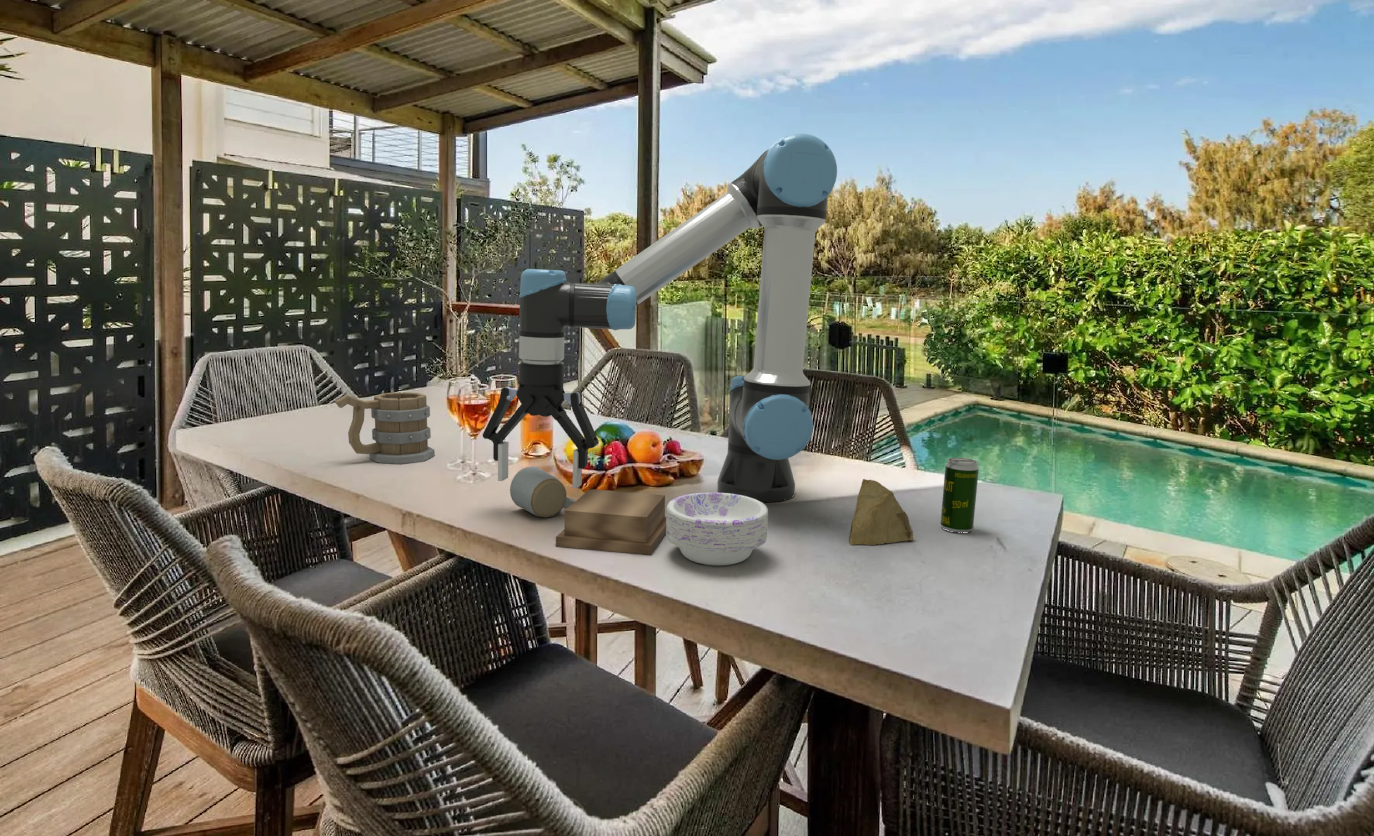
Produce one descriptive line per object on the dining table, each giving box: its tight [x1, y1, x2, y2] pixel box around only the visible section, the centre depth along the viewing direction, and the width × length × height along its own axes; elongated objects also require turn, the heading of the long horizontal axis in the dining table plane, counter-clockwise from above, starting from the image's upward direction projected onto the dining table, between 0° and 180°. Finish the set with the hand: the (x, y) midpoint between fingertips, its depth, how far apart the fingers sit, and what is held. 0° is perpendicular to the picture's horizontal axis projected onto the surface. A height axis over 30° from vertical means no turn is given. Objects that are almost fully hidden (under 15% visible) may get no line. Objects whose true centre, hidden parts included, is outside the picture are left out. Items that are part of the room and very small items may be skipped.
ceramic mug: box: [509, 465, 576, 518], centre depth 141 cm, size 11×8×8 cm
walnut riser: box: [555, 488, 667, 556], centre depth 129 cm, size 15×15×6 cm
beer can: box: [940, 457, 980, 534], centre depth 137 cm, size 5×5×12 cm
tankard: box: [335, 391, 436, 465], centre depth 176 cm, size 20×13×15 cm, turn 128°
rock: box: [848, 478, 915, 546], centre depth 130 cm, size 11×9×10 cm
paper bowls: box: [665, 492, 769, 567], centre depth 121 cm, size 15×15×8 cm
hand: (539, 482), depth 141 cm, fingers open, 13 cm apart
